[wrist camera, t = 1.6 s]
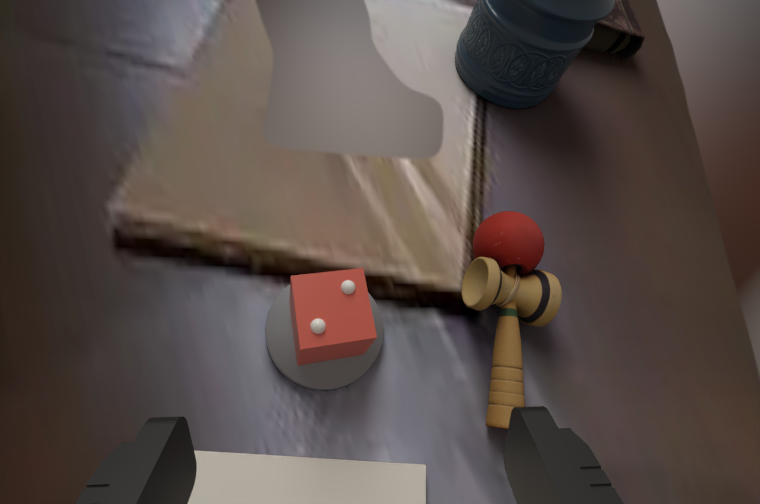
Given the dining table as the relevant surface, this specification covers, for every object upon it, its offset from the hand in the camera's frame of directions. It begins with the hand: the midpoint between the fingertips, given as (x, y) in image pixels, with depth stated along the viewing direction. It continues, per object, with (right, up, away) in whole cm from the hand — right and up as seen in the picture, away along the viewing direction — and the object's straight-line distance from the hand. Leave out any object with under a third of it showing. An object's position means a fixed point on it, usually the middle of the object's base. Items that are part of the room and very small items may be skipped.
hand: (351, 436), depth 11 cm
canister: (+16, +27, +42) cm, 52 cm away
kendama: (+11, -2, +27) cm, 29 cm away
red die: (-4, -2, +23) cm, 23 cm away
